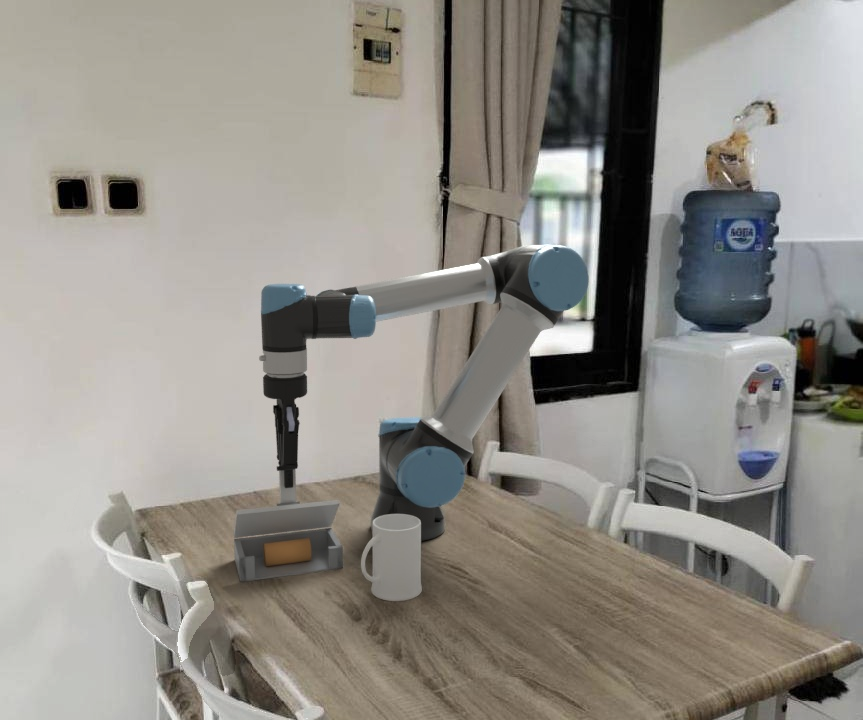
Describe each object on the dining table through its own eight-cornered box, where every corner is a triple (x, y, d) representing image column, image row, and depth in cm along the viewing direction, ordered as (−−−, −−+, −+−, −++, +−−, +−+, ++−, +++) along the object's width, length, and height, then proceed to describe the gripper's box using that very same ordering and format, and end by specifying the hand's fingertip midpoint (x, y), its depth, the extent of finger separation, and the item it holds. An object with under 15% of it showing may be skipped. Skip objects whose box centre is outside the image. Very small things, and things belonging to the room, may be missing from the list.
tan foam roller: (306, 542, 143) (309, 535, 139) (309, 563, 141) (312, 556, 137) (262, 547, 140) (264, 540, 137) (265, 569, 138) (267, 562, 135)
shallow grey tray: (331, 547, 147) (331, 527, 146) (343, 568, 137) (342, 547, 137) (234, 559, 141) (234, 539, 140) (240, 582, 131) (239, 559, 131)
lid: (331, 526, 146) (329, 519, 147) (339, 503, 138) (338, 496, 139) (233, 537, 140) (233, 530, 141) (236, 514, 132) (236, 507, 133)
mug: (374, 612, 121) (374, 539, 119) (344, 593, 127) (344, 524, 126) (432, 591, 128) (433, 523, 127) (401, 575, 135) (401, 509, 133)
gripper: (258, 368, 138) (262, 493, 142) (267, 381, 126) (271, 518, 130) (300, 366, 140) (302, 489, 144) (313, 379, 128) (315, 513, 132)
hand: (288, 502), depth 137 cm, fingers closed
